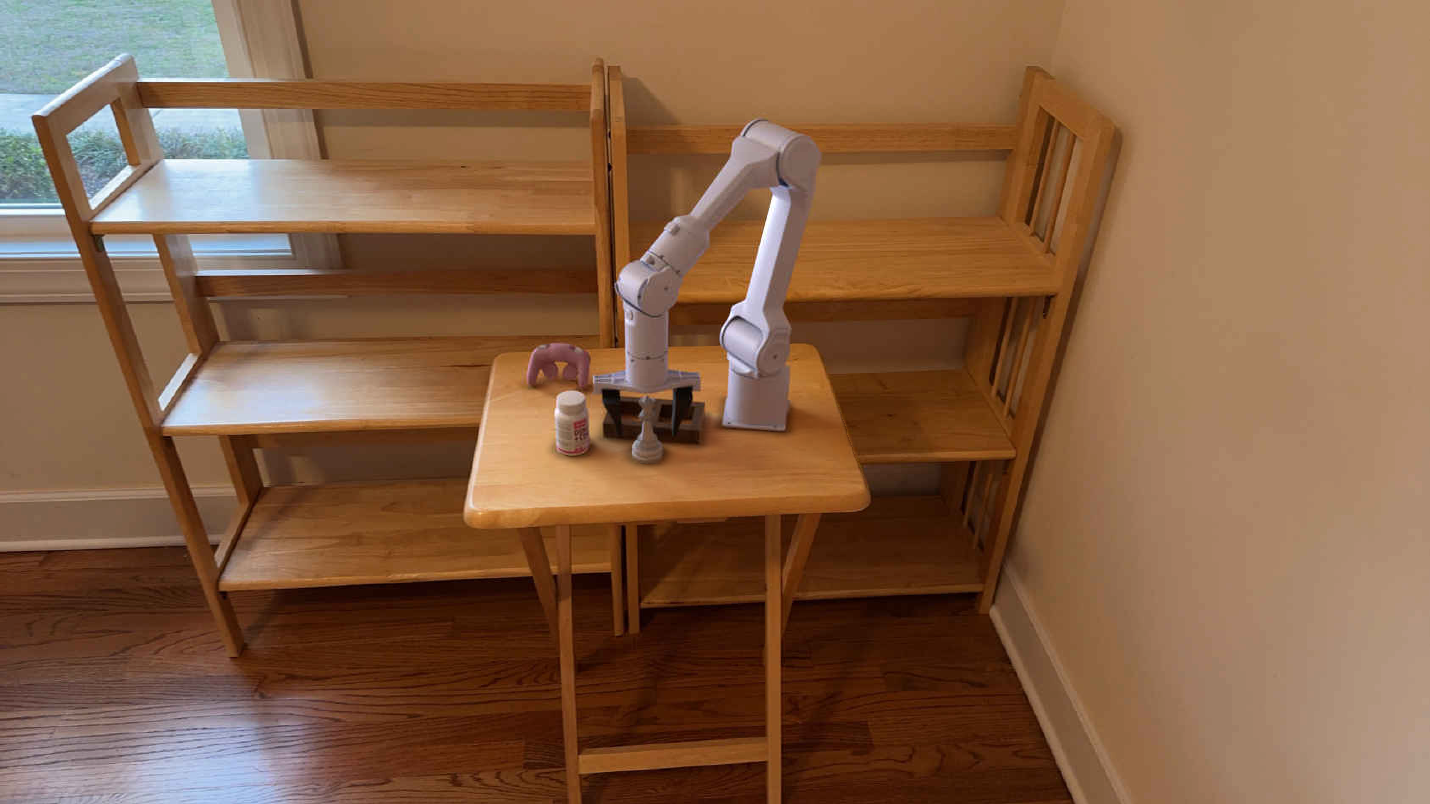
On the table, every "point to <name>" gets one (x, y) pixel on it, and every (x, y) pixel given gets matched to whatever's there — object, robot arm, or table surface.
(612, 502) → the table surface
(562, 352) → the video game controller
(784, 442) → the table surface
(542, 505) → the table surface
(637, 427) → the stand
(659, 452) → the chess piece
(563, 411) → the pill bottle
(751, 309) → the robot arm
